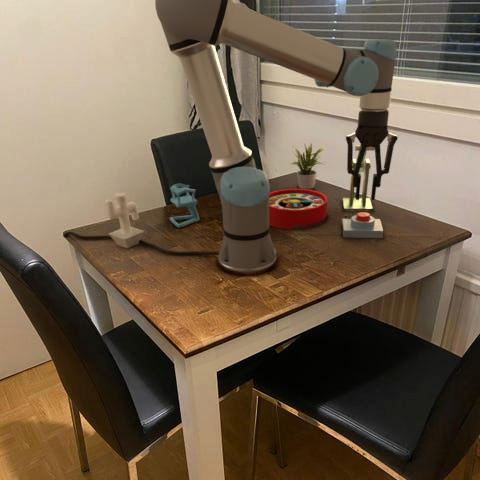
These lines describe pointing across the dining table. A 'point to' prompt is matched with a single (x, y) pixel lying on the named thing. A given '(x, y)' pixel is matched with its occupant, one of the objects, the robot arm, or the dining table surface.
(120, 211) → the figurine
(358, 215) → the button
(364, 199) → the frame stand
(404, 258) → the dining table surface
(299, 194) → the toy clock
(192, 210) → the chair
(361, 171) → the lever
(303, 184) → the house plant
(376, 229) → the button box
